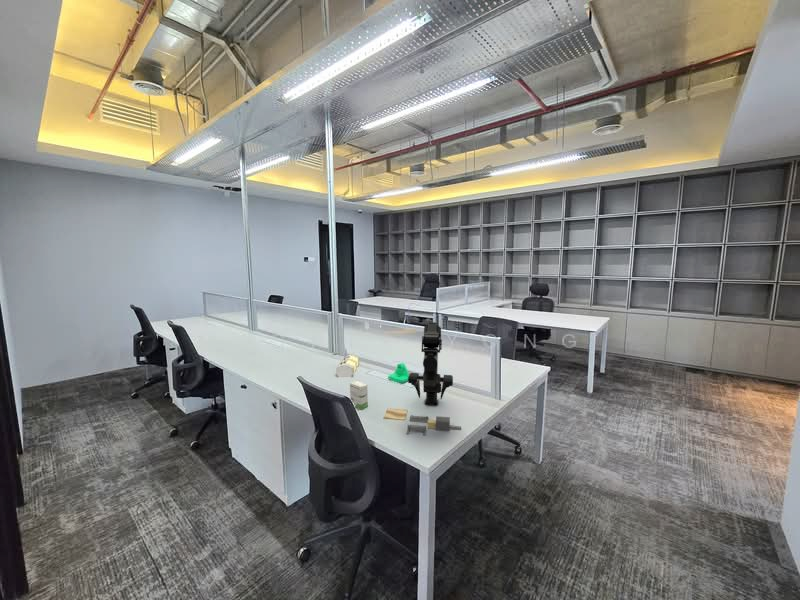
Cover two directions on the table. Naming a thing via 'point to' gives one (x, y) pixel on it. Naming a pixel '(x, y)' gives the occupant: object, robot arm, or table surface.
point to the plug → (442, 424)
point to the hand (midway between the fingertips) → (430, 398)
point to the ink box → (359, 394)
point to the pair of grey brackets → (417, 427)
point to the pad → (395, 414)
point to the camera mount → (400, 374)
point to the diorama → (347, 365)
